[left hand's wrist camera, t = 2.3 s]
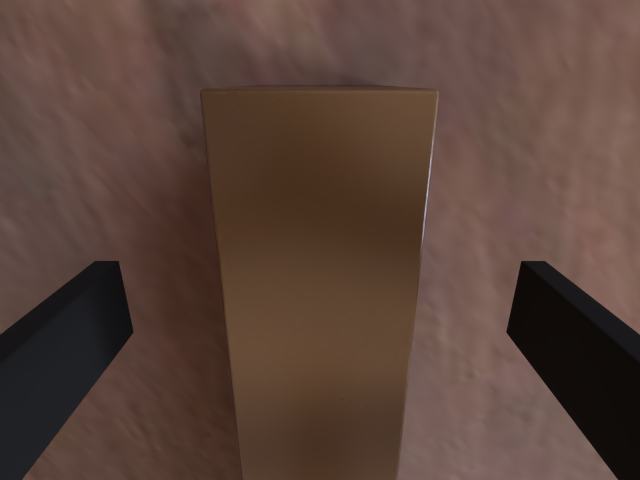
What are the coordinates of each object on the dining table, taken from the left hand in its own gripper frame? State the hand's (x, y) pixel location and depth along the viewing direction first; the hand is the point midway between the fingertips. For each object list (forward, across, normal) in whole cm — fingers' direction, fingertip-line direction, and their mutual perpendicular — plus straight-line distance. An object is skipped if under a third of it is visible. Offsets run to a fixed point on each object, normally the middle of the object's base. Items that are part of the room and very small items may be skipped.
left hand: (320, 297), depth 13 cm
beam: (+6, 0, -19) cm, 20 cm away
